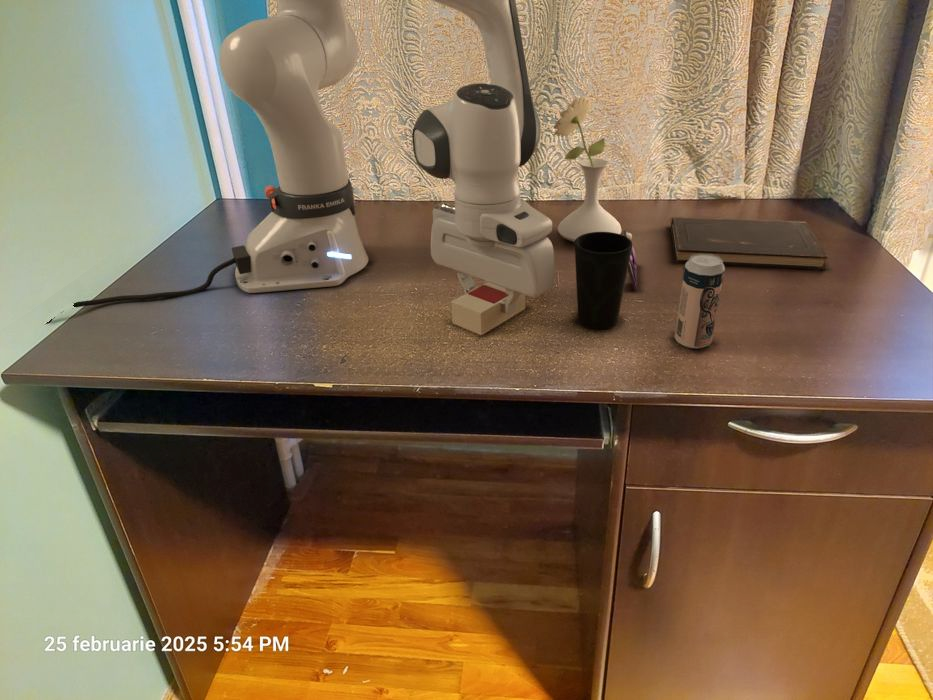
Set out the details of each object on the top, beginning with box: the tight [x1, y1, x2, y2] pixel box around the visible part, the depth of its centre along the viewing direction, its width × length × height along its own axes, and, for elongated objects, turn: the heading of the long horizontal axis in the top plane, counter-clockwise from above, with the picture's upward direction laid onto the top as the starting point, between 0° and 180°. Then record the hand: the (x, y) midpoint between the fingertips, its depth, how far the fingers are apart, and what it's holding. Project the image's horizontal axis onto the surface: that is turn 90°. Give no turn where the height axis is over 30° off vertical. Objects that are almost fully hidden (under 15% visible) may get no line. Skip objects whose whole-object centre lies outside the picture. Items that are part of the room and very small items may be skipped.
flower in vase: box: [553, 95, 622, 243], centre depth 115 cm, size 13×11×25 cm
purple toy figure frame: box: [623, 229, 638, 291], centre depth 106 cm, size 7×5×9 cm
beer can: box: [674, 253, 726, 350], centre depth 86 cm, size 5×5×12 cm
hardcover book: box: [670, 216, 828, 270], centre depth 115 cm, size 16×23×2 cm
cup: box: [574, 232, 634, 331], centre depth 92 cm, size 8×8×12 cm
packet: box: [450, 281, 526, 336], centre depth 97 cm, size 10×6×4 cm, turn 138°
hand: (489, 305), depth 97 cm, fingers closed on packet, 5 cm apart
